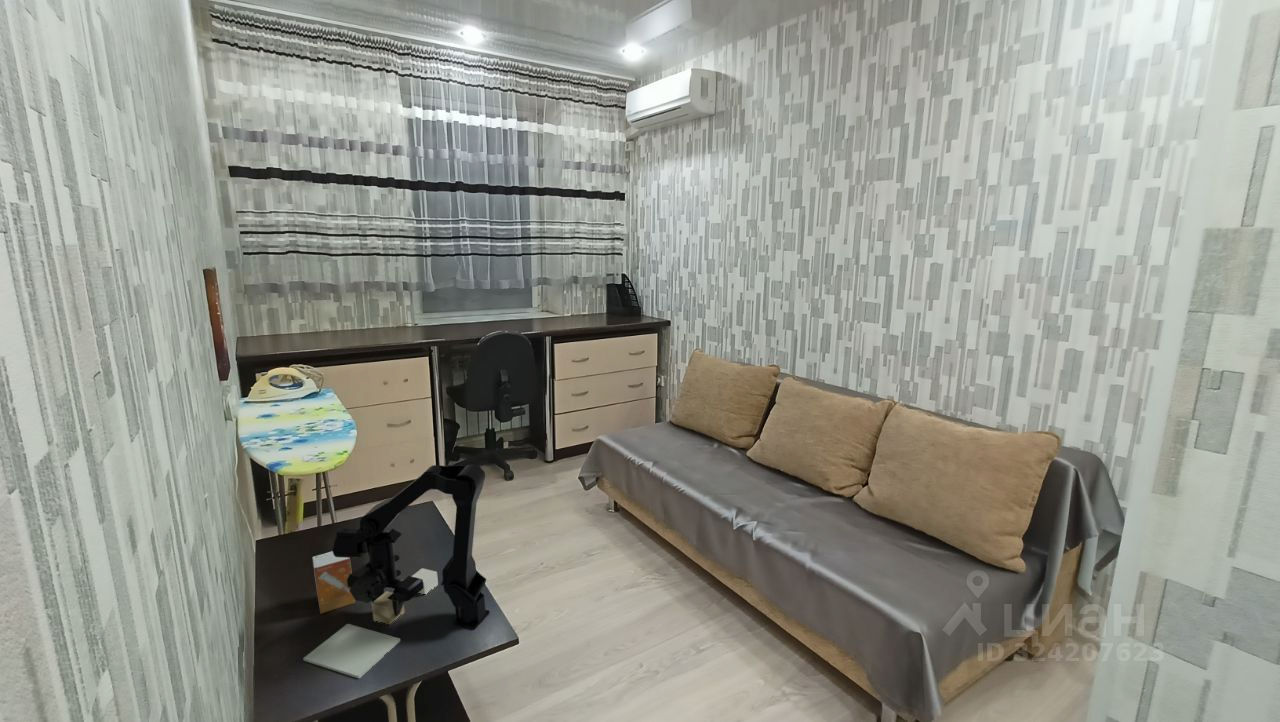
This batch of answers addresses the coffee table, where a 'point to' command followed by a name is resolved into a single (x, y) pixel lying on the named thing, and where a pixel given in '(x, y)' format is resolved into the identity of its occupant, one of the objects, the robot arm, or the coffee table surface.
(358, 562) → the coffee table surface
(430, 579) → the plastic block
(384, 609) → the tan wooden cube
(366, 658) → the mat
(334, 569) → the small box
